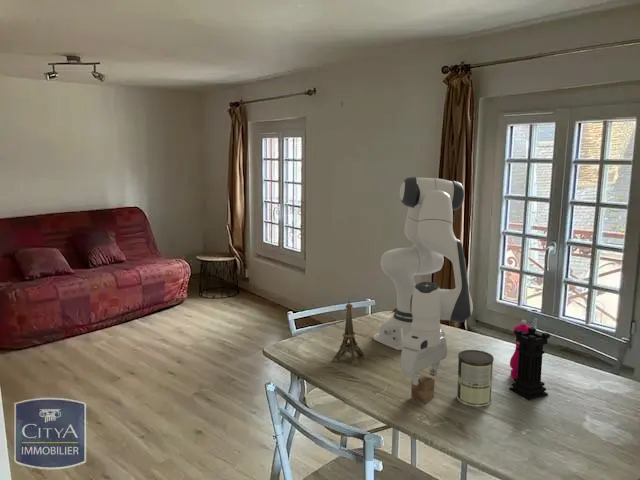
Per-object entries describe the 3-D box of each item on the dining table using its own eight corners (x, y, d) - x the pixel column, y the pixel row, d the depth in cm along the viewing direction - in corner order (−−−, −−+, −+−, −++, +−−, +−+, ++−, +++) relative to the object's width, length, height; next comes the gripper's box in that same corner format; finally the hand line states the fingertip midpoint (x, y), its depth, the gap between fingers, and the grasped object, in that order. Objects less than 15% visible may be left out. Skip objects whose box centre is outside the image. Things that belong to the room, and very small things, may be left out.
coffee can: (450, 394, 164) (451, 351, 161) (478, 389, 167) (480, 347, 164) (469, 409, 154) (471, 364, 152) (498, 404, 157) (501, 359, 155)
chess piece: (509, 389, 167) (512, 330, 163) (528, 385, 170) (531, 326, 166) (528, 400, 159) (532, 338, 156) (547, 395, 162) (551, 334, 159)
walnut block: (411, 397, 162) (411, 379, 161) (420, 392, 165) (420, 374, 164) (424, 402, 158) (425, 384, 157) (433, 397, 162) (434, 379, 161)
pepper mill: (533, 382, 172) (537, 324, 169) (510, 380, 174) (514, 322, 170) (529, 373, 179) (533, 317, 176) (507, 371, 181) (510, 316, 177)
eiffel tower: (358, 366, 186) (358, 298, 182) (330, 362, 190) (330, 296, 186) (366, 356, 195) (367, 291, 191) (340, 352, 199) (340, 289, 195)
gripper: (435, 326, 168) (434, 367, 170) (397, 342, 153) (397, 386, 155) (452, 330, 163) (451, 372, 165) (415, 347, 149) (414, 392, 151)
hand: (424, 379), depth 160 cm, fingers open, 8 cm apart
